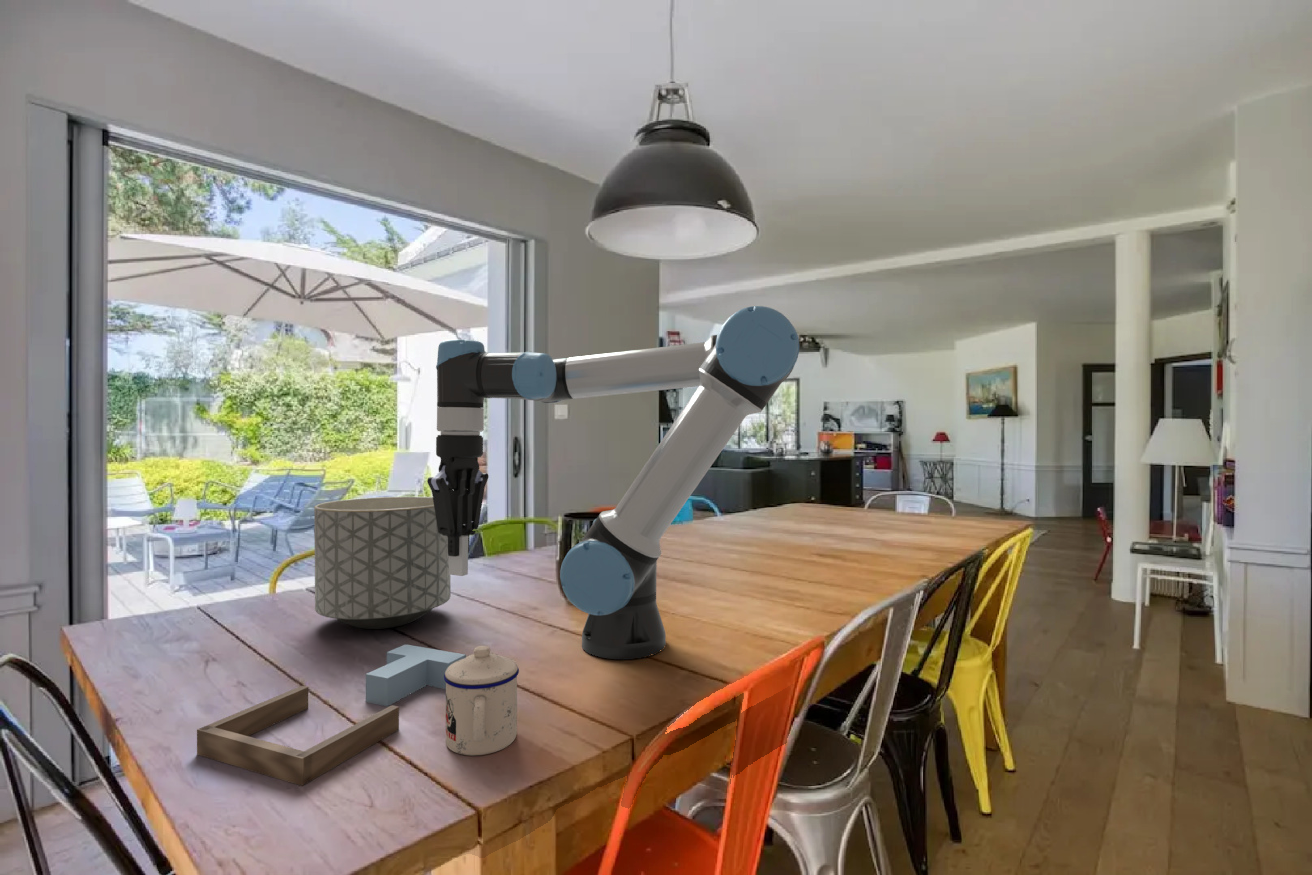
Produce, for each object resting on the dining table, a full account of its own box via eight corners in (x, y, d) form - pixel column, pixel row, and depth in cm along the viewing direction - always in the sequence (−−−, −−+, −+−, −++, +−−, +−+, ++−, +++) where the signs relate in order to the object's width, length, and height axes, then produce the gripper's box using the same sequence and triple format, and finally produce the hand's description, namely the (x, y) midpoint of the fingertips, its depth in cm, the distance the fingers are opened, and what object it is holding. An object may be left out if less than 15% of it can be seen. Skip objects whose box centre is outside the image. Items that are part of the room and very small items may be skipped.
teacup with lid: (447, 726, 84) (447, 638, 84) (518, 720, 86) (518, 634, 86) (436, 774, 73) (437, 672, 73) (519, 766, 75) (519, 666, 75)
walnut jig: (398, 729, 83) (399, 706, 83) (302, 785, 70) (302, 758, 70) (302, 706, 90) (302, 685, 90) (196, 754, 77) (196, 729, 77)
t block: (465, 680, 100) (465, 654, 100) (409, 711, 89) (409, 682, 89) (405, 668, 104) (405, 644, 104) (344, 697, 93) (344, 669, 93)
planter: (313, 649, 113) (313, 513, 112) (316, 613, 135) (315, 500, 135) (460, 629, 124) (460, 505, 124) (440, 599, 146) (439, 494, 146)
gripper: (466, 433, 115) (465, 564, 115) (414, 433, 103) (412, 580, 103) (502, 433, 112) (500, 568, 112) (452, 434, 100) (450, 585, 100)
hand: (458, 574), depth 108 cm, fingers closed
